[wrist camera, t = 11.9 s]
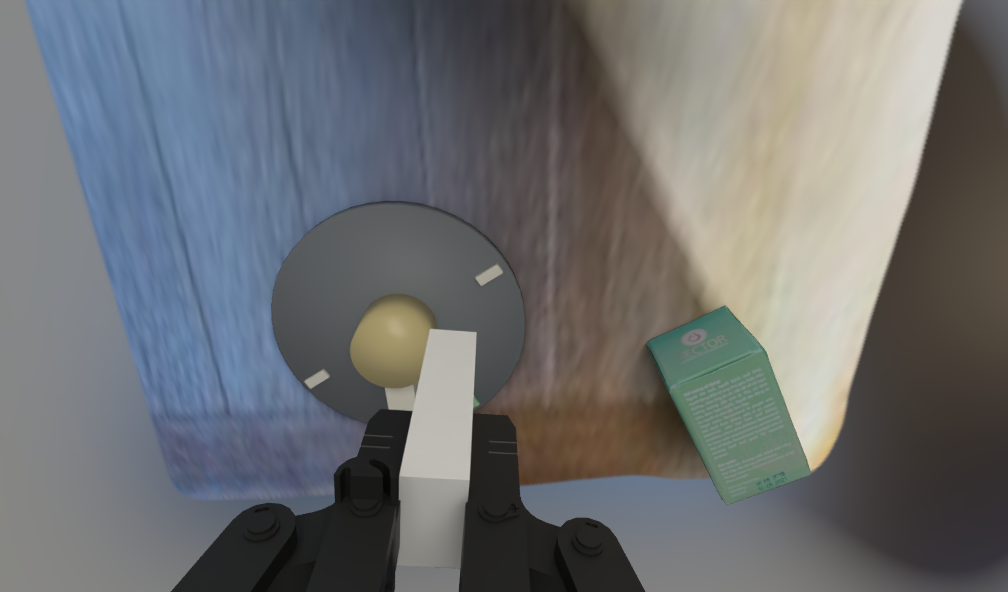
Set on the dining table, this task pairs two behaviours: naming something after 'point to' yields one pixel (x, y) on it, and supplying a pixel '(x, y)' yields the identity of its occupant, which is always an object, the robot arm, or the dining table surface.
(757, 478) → the box
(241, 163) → the dining table surface
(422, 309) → the round-headed handle
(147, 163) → the dining table surface
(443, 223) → the plate
